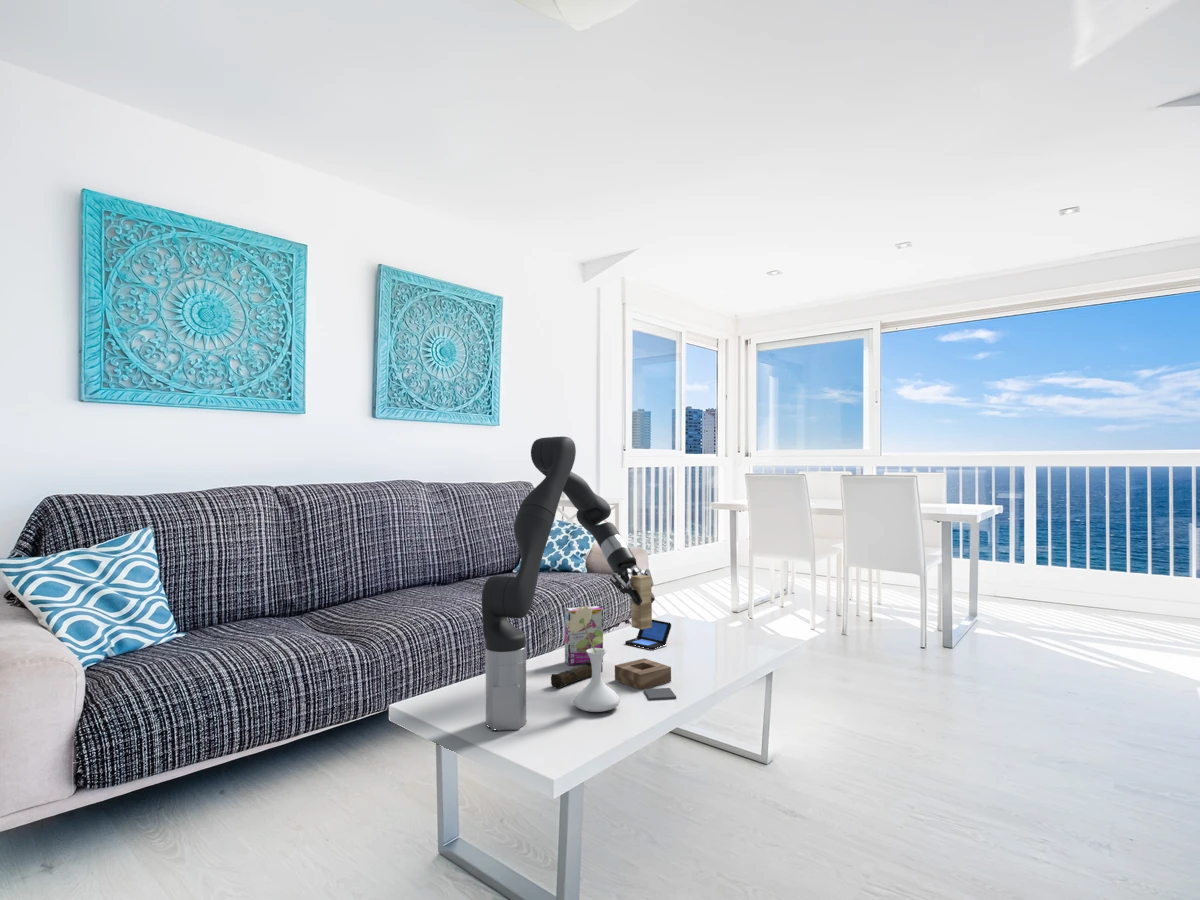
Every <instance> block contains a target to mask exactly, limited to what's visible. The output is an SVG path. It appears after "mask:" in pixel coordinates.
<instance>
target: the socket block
mask: <svg viewBox="0 0 1200 900" xmlns="http://www.w3.org/2000/svg"><path fill="white" fill-rule="evenodd" d="M614 681H615V682H619V683H622V684H625V685H627V686H630V687H632V688H634V689H637V690H640V691H644V689H651V688H654V687H658V686H660V684H661V685H664V683H665V684H668V683H671V682H672V666H669V665H666V664H663V663H660V662H657V661H653V660H651V659H648V658H641V659H637V660H632V661H626V662H624V663H620V664H615V665H614ZM670 681H671V682H670ZM667 682H668V683H667Z"/></svg>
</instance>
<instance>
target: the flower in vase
mask: <svg viewBox="0 0 1200 900" xmlns="http://www.w3.org/2000/svg"><path fill="white" fill-rule="evenodd" d="M579 607H580V608H579V610H577V611H576V613H575V615H572V616H571V620H570V621H569V622H568V625H567V627H569V629H568V631H570V632H572V631H573V633H575V632H578V631H579V630H581V629H582V628H583V627H585V630H586V633H587V636H588V640H589V641H588V640H586V639H583V640H581V641H579V642H578V643H577V644H576V646H575V648H583V647H585V646H586V645H587V643H588V642H590V644H591V646H592V647H593V648H591V649H588V650H586V652H587V654H588V655H589V657H590V660H591V665H592V677H591V679H590V682H588V684H587V685H586V686H584V687H583V688H582V689H581V690H579V692H578V693H577V694H576V695H575V696H574V699H573V701H572V702H573V704H574V705H575V707H576V708H578V709H580V710H582V711H585V712H590V713H601V712H607V711H611V710H614V709H616V708H617V707H618V706H619V704H620V703H621V699H620V697H619V695H618V694H617V693H616V691H614V690H613V689H612V688H611V687H609V686H608V685H606V683H605V682H604V680H603V679H602V672H601V664H602V665H603V662H602V659H603V660H604V657H605V655H606V653H607V649H605V648H603V649H602V648H594V646H597V645H599V644H601V643H602V642H603V643H604V632H603V633H602V634H601V635H599V636H597V637H596V638H594V639H593V640H592V643H591V641H590V639H589V635H588V632H587V629H586V625H587V623H588V622H589V620H591V615H592V608H589V607H590V606H589V605H584V606H579ZM582 607H583V609H582ZM592 644H593V645H592Z"/></svg>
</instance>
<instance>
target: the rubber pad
mask: <svg viewBox="0 0 1200 900" xmlns="http://www.w3.org/2000/svg"><path fill="white" fill-rule="evenodd" d="M643 692H644V694H645V696H646V698H647V699H648V700H649V701H658V700H660V699H662V700H672V699H671V698H676V699H677V695H676V694H675V693H674V691H673V690H672V688H670V687H662V688H661V687H657V688H647V689H643ZM660 701H661V700H660Z"/></svg>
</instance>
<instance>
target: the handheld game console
mask: <svg viewBox="0 0 1200 900" xmlns="http://www.w3.org/2000/svg"><path fill="white" fill-rule="evenodd" d="M671 629H672V623H671V622H667V621H663V620H658V619H652V627H651V628H646V629H638V633H637V635H636V637H635V638H632V639H629V640H625V645H627V644H630V645H629V646H631V645H636V646H640V647H644V648H649V649H655V648H657V647H660V646H663V645H665V644H666V645H667V641H668V638H669V636H670V635H669V634H670V631H671ZM644 648H643V649H644ZM655 650H656V649H655Z"/></svg>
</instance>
